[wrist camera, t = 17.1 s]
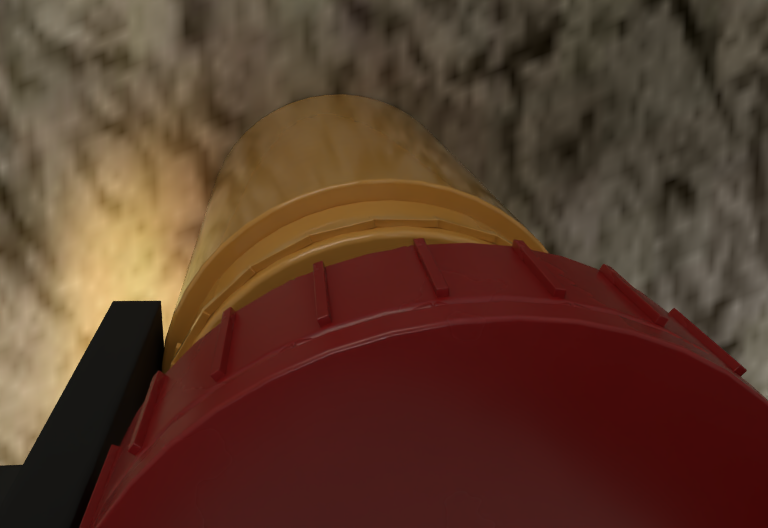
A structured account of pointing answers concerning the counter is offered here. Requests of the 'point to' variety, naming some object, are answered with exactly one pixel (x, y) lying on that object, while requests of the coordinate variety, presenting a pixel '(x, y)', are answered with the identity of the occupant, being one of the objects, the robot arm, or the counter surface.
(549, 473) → the jam lid
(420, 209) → the jam jar
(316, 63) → the counter surface
